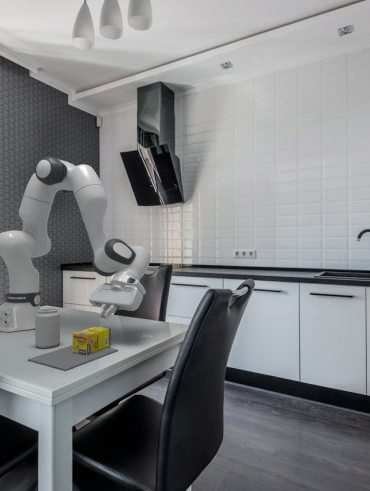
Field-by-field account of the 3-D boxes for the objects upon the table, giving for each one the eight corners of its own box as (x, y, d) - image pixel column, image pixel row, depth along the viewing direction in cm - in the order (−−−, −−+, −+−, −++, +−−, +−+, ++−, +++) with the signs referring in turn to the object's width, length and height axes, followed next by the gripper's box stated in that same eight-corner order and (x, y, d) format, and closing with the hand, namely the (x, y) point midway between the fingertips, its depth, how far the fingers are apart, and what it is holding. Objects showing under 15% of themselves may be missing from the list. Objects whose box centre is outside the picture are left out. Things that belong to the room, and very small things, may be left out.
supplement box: (110, 327, 109) (87, 335, 99) (111, 345, 109) (87, 355, 99) (96, 325, 111) (71, 333, 102) (96, 343, 111) (72, 353, 102)
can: (46, 341, 115) (46, 306, 115) (64, 343, 113) (64, 307, 113) (30, 348, 108) (30, 310, 108) (49, 350, 106) (49, 311, 106)
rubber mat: (82, 343, 113) (82, 342, 113) (118, 350, 105) (118, 349, 105) (27, 360, 96) (27, 359, 96) (65, 371, 88) (65, 369, 88)
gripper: (97, 277, 122) (76, 308, 114) (141, 280, 112) (121, 314, 103) (106, 288, 126) (86, 319, 118) (150, 292, 115) (131, 326, 107)
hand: (103, 317), depth 110 cm, fingers closed
